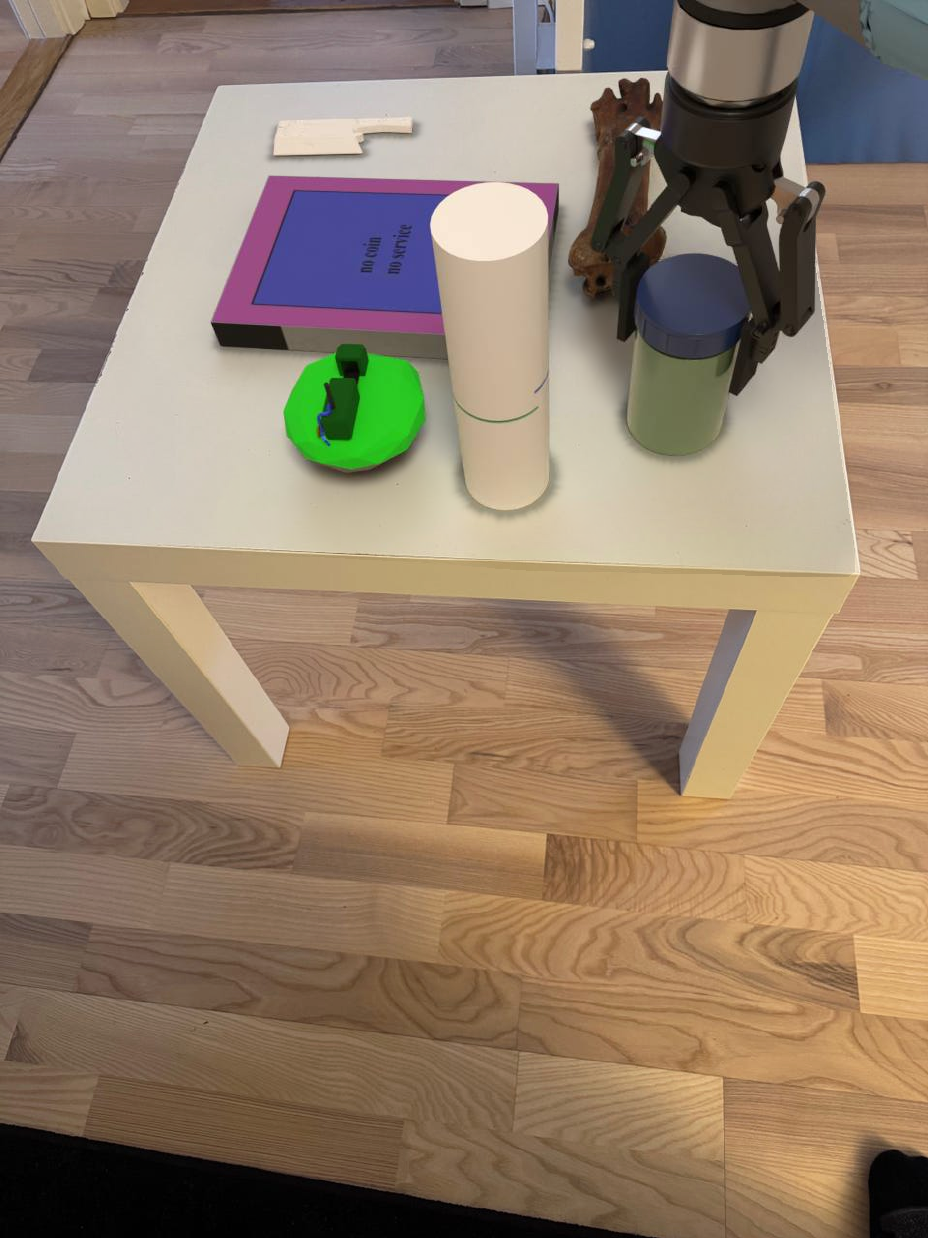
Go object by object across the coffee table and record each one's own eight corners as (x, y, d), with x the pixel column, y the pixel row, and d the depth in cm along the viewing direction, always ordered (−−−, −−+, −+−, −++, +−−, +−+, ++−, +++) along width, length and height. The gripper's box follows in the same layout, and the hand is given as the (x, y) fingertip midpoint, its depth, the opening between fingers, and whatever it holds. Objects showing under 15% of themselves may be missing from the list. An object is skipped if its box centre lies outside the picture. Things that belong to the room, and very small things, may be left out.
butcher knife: (407, 153, 99) (406, 143, 98) (273, 156, 101) (270, 147, 100) (413, 123, 102) (411, 113, 101) (282, 126, 104) (279, 117, 103)
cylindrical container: (565, 462, 78) (569, 202, 56) (521, 523, 75) (508, 275, 53) (493, 430, 80) (470, 169, 58) (448, 489, 77) (407, 238, 55)
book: (532, 339, 81) (210, 322, 85) (533, 363, 83) (220, 346, 88) (558, 183, 90) (268, 175, 95) (558, 209, 93) (276, 200, 97)
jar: (739, 409, 79) (771, 289, 67) (688, 470, 76) (712, 356, 65) (660, 370, 82) (677, 248, 70) (608, 427, 79) (617, 311, 68)
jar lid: (686, 261, 72) (690, 237, 70) (772, 314, 68) (779, 290, 66) (611, 318, 69) (613, 294, 67) (696, 376, 66) (700, 352, 64)
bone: (679, 42, 92) (665, 230, 77) (678, 124, 99) (664, 312, 84) (590, 52, 94) (558, 237, 79) (595, 131, 101) (567, 315, 86)
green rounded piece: (422, 501, 77) (404, 412, 67) (287, 496, 78) (250, 408, 69) (440, 392, 83) (424, 295, 73) (313, 389, 84) (282, 294, 74)
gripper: (948, 95, 50) (837, 385, 70) (608, -13, 58) (594, 274, 77) (884, 171, 48) (787, 449, 67) (537, 47, 55) (542, 328, 75)
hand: (684, 355), depth 72 cm, fingers open, 9 cm apart
